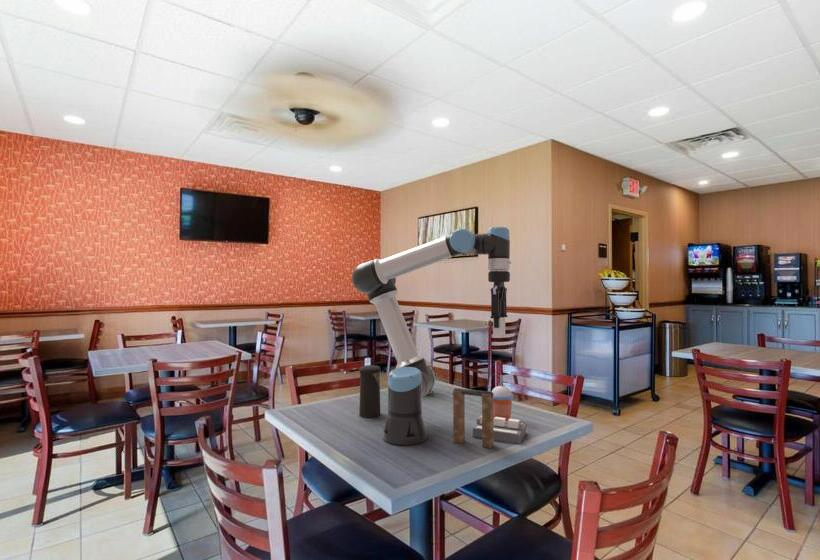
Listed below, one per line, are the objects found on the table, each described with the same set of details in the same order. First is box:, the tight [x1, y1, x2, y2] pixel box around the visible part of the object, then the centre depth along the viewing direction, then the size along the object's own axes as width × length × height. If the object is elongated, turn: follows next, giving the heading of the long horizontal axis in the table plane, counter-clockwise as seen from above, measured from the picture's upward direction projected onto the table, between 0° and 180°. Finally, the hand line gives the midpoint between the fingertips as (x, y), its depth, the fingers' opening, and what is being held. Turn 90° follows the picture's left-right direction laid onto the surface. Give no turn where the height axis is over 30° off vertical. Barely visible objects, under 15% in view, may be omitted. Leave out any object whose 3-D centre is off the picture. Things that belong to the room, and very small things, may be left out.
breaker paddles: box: [479, 414, 521, 429], centre depth 153 cm, size 14×2×2 cm, turn 64°
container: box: [358, 364, 381, 418], centre depth 177 cm, size 9×9×20 cm
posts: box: [452, 390, 495, 449], centre depth 144 cm, size 13×4×17 cm, turn 64°
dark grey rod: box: [452, 387, 493, 397], centre depth 145 cm, size 14×2×2 cm, turn 64°
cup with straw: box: [491, 374, 514, 422], centre depth 167 cm, size 9×9×18 cm
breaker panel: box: [472, 416, 527, 445], centre depth 153 cm, size 16×12×5 cm
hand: (499, 336), depth 153 cm, fingers open, 5 cm apart
